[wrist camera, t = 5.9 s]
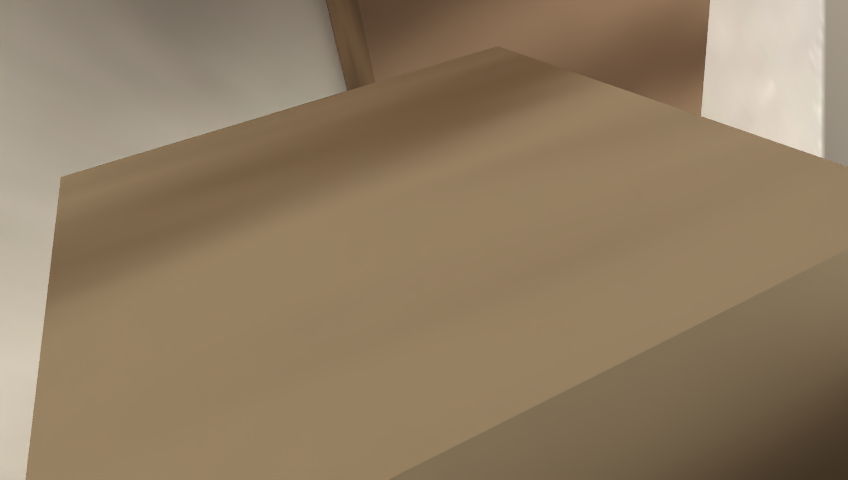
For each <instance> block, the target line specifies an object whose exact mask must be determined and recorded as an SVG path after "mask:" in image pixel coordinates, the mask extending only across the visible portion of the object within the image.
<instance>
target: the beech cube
mask: <svg viewBox="0 0 848 480" xmlns="http://www.w3.org/2000/svg"><path fill="white" fill-rule="evenodd" d="M26 480H848V167H846V166H843V165H841V164H838V163H835V162H832V161H829V160H826V159H823V158H820V157H817V156H815V155H812V154H809V153H806V152H803V151H800V150H797V149H794V148H791V147H788V146H786V145H783V144H780V143H777V142H774V141H771V140H768V139H765V138H762V137H760V136H757V135H754V134H751V133H748V132H745V131H742V130H739V129H736V128H733V127H731V126H728V125H725V124H722V123H719V122H716V121H713V120H710V119H707V118H705V117H702V116H699V115H696V114H693V113H690V112H687V111H684V110H681V109H678V108H676V107H673V106H670V105H667V104H664V103H661V102H658V101H655V100H652V99H649V98H647V97H644V96H641V95H638V94H635V93H632V92H629V91H626V90H623V89H621V88H618V87H615V86H612V85H609V84H606V83H603V82H600V81H597V80H594V79H592V78H589V77H586V76H583V75H580V74H577V73H574V72H571V71H568V70H566V69H563V68H560V67H557V66H554V65H551V64H548V63H545V62H542V61H539V60H537V59H534V58H531V57H528V56H525V55H522V54H519V53H516V52H513V51H511V50H508V49H505V48H502V47H499V46H496V47H492V48H489V49H486V50H482V51H479V52H476V53H472V54H469V55H466V56H462V57H459V58H456V59H453V60H449V61H446V62H443V63H439V64H436V65H433V66H429V67H426V68H423V69H419V70H416V71H413V72H409V73H406V74H403V75H399V76H396V77H393V78H389V79H386V80H383V81H379V82H376V83H373V84H369V85H366V86H363V87H359V88H356V89H353V90H349V91H346V92H343V93H339V94H336V95H333V96H329V97H326V98H323V99H319V100H316V101H313V102H309V103H306V104H303V105H299V106H296V107H293V108H289V109H286V110H283V111H279V112H276V113H273V114H269V115H266V116H263V117H260V118H256V119H253V120H250V121H246V122H243V123H240V124H236V125H233V126H230V127H226V128H223V129H220V130H216V131H213V132H210V133H206V134H203V135H200V136H196V137H193V138H190V139H186V140H183V141H180V142H176V143H173V144H170V145H166V146H163V147H160V148H156V149H153V150H150V151H146V152H143V153H140V154H136V155H133V156H130V157H126V158H123V159H120V160H116V161H113V162H110V163H106V164H103V165H100V166H96V167H93V168H90V169H86V170H83V171H80V172H76V173H73V174H70V175H67V176H63V177H61V182H60V190H59V199H58V207H57V216H56V224H55V233H54V242H53V250H52V259H51V267H50V276H49V284H48V293H47V301H46V310H45V319H44V327H43V336H42V344H41V353H40V361H39V370H38V378H37V387H36V396H35V404H34V413H33V421H32V430H31V438H30V447H29V455H28V464H27V473H26Z"/></svg>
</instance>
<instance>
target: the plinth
mask: <svg viewBox="0 0 848 480" xmlns="http://www.w3.org/2000/svg"><path fill="white" fill-rule="evenodd" d="M326 2H327V6H328V11H329V15H330V19H331V23H332V27H333V32H334V36H335V40H336V44H337V49H338V53H339V57H340V61H341V65H342V70H343V74H344V78H345V82H346V86H347V91H349V90H353V89H356V88H359V87H363V86H366V85H369V84H373V83H376V82H379V81H383V80H386V79H389V78H393V77H396V76H399V75H403V74H406V73H409V72H413V71H416V70H419V69H423V68H426V67H429V66H433V65H436V64H439V63H443V62H446V61H449V60H453V59H456V58H459V57H462V56H466V55H469V54H472V53H476V52H479V51H482V50H486V49H489V48H492V47H496V46H499V47H502V48H505V49H508V50H511V51H513V52H516V53H519V54H522V55H525V56H528V57H531V58H534V59H537V60H539V61H542V62H545V63H548V64H551V65H554V66H557V67H560V68H563V69H566V70H568V71H571V72H574V73H577V74H580V75H583V76H586V77H589V78H592V79H594V80H597V81H600V82H603V83H606V84H609V85H612V86H615V87H618V88H621V89H623V90H626V91H629V92H632V93H635V94H638V95H641V96H644V97H647V98H649V99H652V100H655V101H658V102H661V103H664V104H667V105H670V106H673V107H676V108H678V109H681V110H684V111H687V112H690V113H693V114H696V115H699V116H701V107H702V94H703V81H704V69H705V56H706V44H707V31H708V19H709V6H710V0H326Z"/></svg>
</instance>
